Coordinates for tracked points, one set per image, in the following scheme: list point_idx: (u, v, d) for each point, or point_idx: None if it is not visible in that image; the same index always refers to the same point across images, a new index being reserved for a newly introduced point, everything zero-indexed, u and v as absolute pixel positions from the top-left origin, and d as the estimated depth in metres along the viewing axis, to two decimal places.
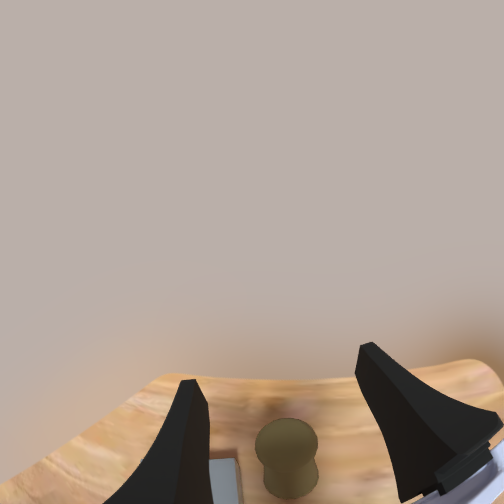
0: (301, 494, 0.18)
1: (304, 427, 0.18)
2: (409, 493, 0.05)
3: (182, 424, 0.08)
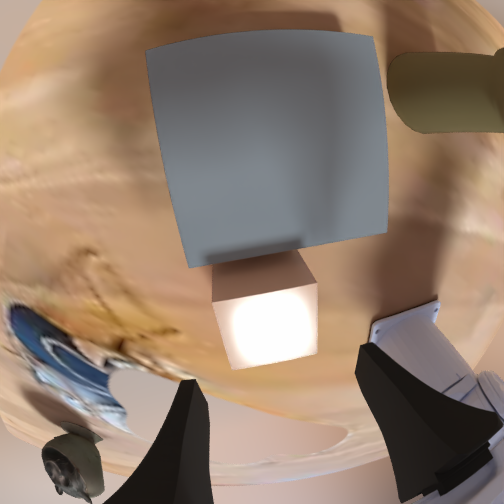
0: None
1: None
2: (409, 493, 0.05)
3: (182, 424, 0.08)
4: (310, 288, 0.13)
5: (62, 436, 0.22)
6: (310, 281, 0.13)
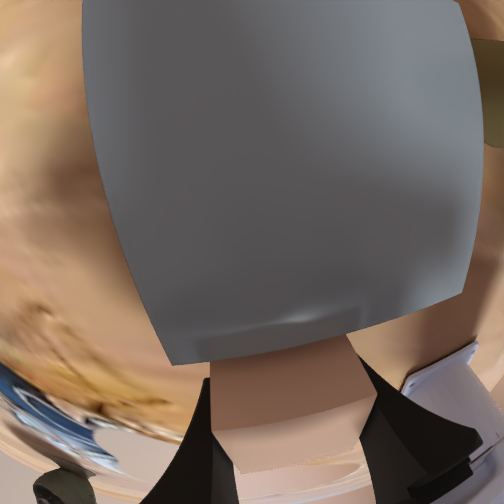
0: None
1: None
2: None
3: (210, 422, 0.08)
4: (366, 401, 0.07)
5: (52, 473, 0.16)
6: (367, 391, 0.07)
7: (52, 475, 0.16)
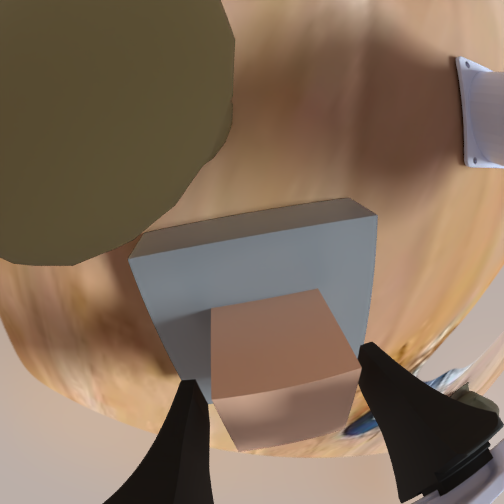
0: None
1: None
2: (409, 493, 0.05)
3: (182, 424, 0.08)
4: (351, 374, 0.08)
5: None
6: (352, 365, 0.08)
7: None
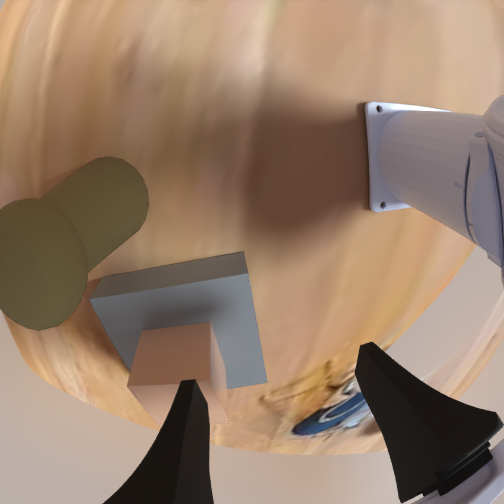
0: (140, 183, 0.15)
1: None
2: (409, 493, 0.05)
3: (182, 424, 0.08)
4: (205, 383, 0.13)
5: None
6: (205, 377, 0.13)
7: None
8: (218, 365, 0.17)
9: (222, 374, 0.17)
